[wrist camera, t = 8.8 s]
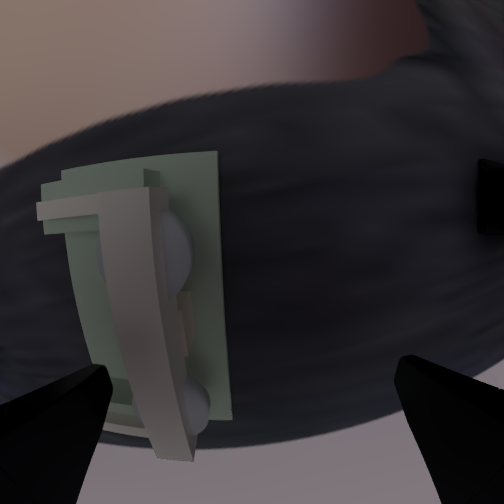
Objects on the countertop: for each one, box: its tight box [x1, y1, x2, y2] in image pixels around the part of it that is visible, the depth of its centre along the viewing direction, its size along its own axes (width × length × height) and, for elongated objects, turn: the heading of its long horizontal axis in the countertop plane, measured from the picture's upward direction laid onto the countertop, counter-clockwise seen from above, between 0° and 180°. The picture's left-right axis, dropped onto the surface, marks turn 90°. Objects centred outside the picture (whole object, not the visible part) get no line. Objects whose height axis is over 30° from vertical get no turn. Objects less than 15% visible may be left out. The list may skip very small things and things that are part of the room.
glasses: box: [36, 187, 211, 462], centre depth 13 cm, size 9×16×3 cm, turn 1°
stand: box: [41, 151, 233, 420], centre depth 17 cm, size 11×20×4 cm, turn 1°
